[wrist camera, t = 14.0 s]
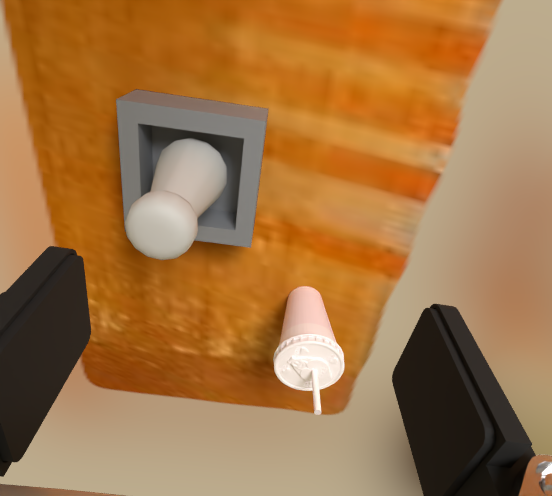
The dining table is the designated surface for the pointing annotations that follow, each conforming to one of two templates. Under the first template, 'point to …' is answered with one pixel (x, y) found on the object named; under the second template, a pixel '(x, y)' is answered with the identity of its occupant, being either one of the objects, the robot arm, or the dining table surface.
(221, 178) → the salt shaker
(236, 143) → the socket holder
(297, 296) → the smoothie
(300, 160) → the dining table surface
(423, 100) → the dining table surface
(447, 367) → the robot arm
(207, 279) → the dining table surface
